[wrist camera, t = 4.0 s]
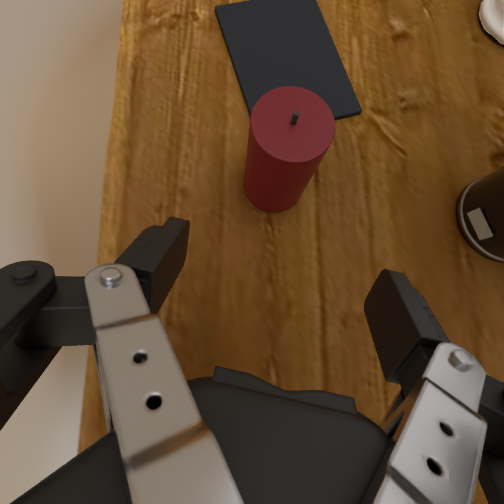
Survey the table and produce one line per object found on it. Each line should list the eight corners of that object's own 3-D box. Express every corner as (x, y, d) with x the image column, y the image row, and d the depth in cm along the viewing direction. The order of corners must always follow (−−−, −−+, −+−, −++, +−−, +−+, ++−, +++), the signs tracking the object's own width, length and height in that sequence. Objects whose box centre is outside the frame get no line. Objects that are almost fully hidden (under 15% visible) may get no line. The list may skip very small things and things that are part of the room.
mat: (310, -6, 36) (311, -11, 35) (360, 114, 33) (362, 110, 32) (214, 11, 34) (214, 6, 34) (257, 138, 31) (258, 134, 31)
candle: (291, 152, 31) (323, 67, 20) (309, 203, 30) (353, 142, 19) (237, 165, 30) (240, 84, 20) (253, 219, 29) (267, 163, 19)
